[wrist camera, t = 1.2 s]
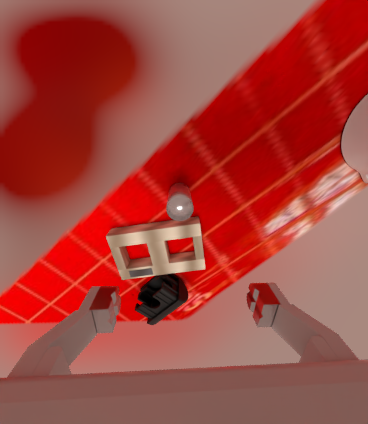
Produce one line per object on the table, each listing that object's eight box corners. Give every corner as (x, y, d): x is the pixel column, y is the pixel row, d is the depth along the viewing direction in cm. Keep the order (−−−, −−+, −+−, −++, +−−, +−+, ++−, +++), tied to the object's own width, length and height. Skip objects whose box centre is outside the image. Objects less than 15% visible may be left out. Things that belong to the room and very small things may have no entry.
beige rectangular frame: (198, 216, 36) (200, 223, 33) (203, 259, 40) (205, 269, 37) (111, 228, 36) (105, 237, 33) (125, 270, 41) (121, 280, 38)
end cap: (160, 303, 46) (157, 330, 40) (138, 289, 44) (132, 315, 37) (188, 282, 43) (189, 307, 37) (166, 266, 41) (164, 289, 35)
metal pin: (188, 181, 33) (191, 194, 26) (191, 201, 35) (194, 219, 27) (167, 184, 33) (164, 198, 26) (170, 203, 35) (169, 222, 27)
